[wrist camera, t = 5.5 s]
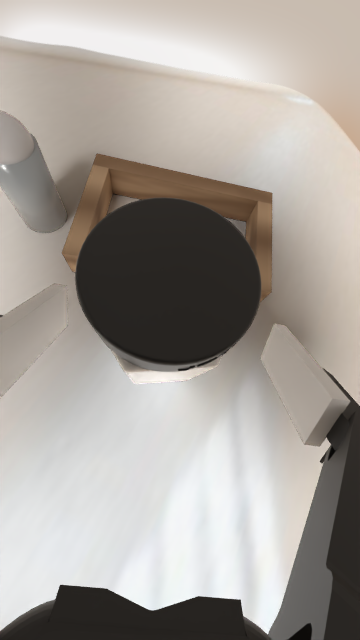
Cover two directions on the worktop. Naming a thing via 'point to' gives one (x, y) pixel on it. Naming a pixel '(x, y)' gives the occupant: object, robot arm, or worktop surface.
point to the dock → (159, 183)
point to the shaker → (28, 178)
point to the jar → (167, 287)
